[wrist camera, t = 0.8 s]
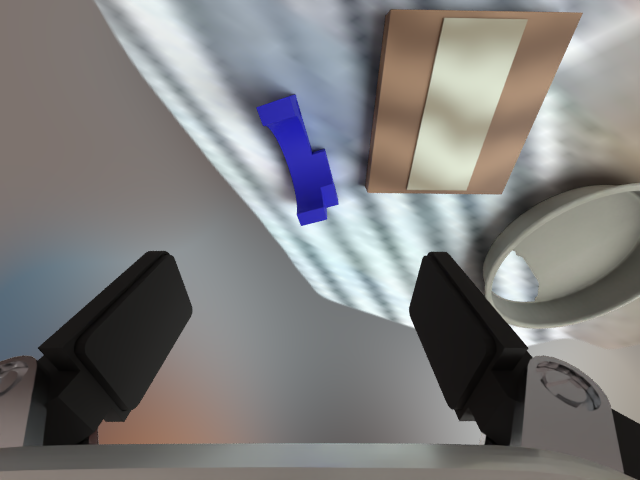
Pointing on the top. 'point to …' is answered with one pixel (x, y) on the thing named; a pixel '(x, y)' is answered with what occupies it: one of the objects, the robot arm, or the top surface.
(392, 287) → the top surface
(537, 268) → the cake pan
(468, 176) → the mounting board
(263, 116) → the blue curved stepped block
